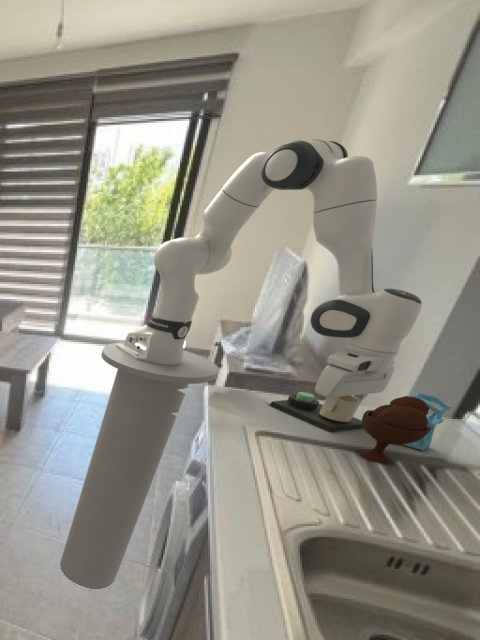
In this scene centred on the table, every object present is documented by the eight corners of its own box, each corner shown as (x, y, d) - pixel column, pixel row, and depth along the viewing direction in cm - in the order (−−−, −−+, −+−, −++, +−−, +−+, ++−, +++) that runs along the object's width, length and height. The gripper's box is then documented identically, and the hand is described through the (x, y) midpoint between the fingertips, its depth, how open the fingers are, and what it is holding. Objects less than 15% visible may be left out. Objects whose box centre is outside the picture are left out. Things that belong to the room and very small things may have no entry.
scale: (269, 405, 135) (274, 395, 133) (303, 401, 138) (308, 392, 136) (329, 431, 121) (335, 421, 120) (365, 427, 124) (372, 416, 123)
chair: (419, 452, 113) (450, 407, 107) (375, 437, 119) (402, 393, 114) (433, 446, 116) (464, 401, 110) (389, 431, 123) (416, 388, 117)
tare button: (292, 398, 133) (295, 392, 132) (301, 397, 134) (304, 391, 133) (305, 403, 130) (308, 397, 129) (315, 402, 131) (318, 396, 130)
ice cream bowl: (339, 441, 117) (372, 384, 110) (401, 456, 111) (440, 397, 104) (345, 458, 109) (381, 398, 102) (412, 475, 103) (454, 413, 96)
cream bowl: (313, 412, 127) (323, 393, 125) (330, 410, 129) (340, 391, 126) (338, 423, 122) (349, 403, 119) (356, 420, 123) (367, 401, 121)
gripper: (381, 352, 123) (354, 401, 129) (323, 356, 118) (298, 407, 124) (411, 360, 118) (380, 411, 124) (352, 365, 112) (323, 417, 119)
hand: (339, 409), depth 124 cm, fingers closed on cream bowl, 6 cm apart
